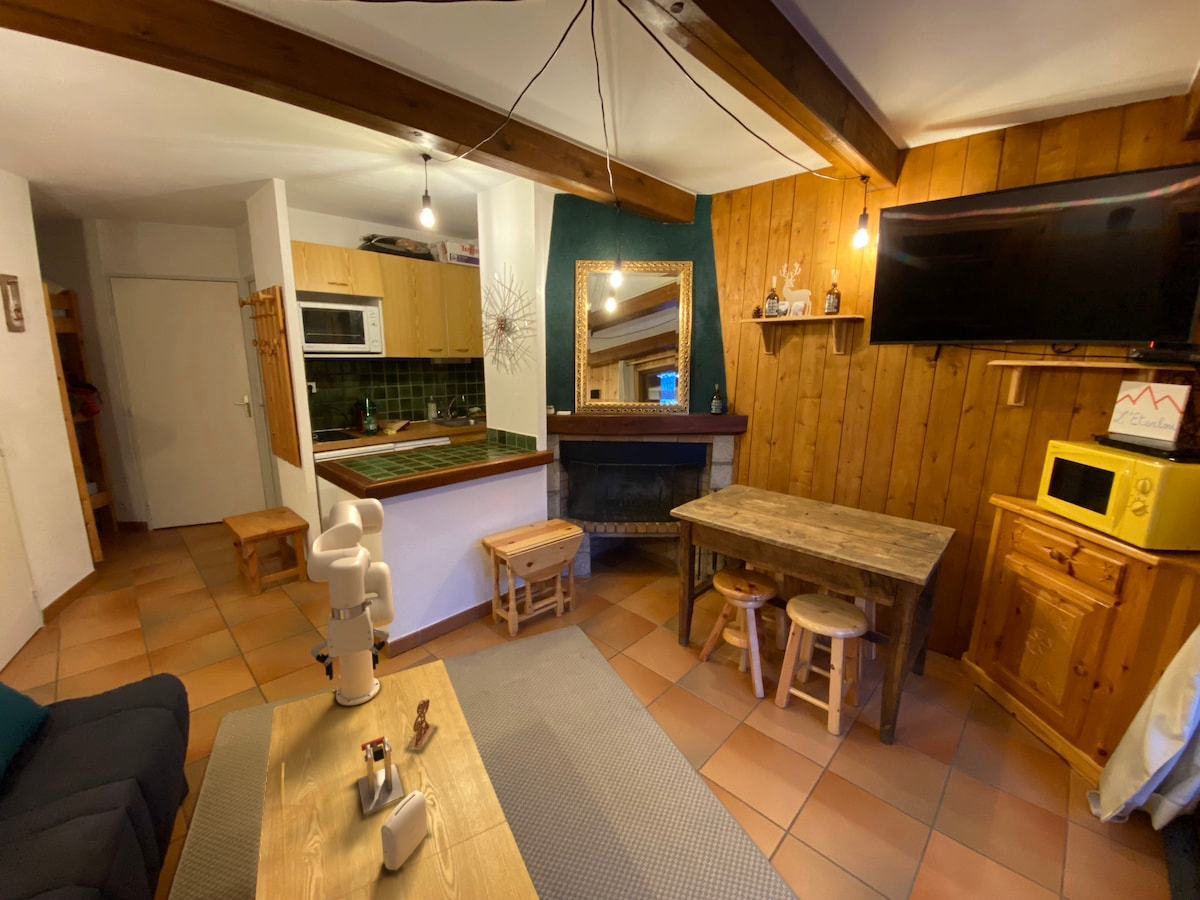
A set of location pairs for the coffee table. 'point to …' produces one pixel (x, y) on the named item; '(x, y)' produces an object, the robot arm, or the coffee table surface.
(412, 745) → the brown filigree ornament
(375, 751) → the lever
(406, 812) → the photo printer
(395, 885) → the coffee table surface
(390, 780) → the bracket
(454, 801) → the coffee table surface
